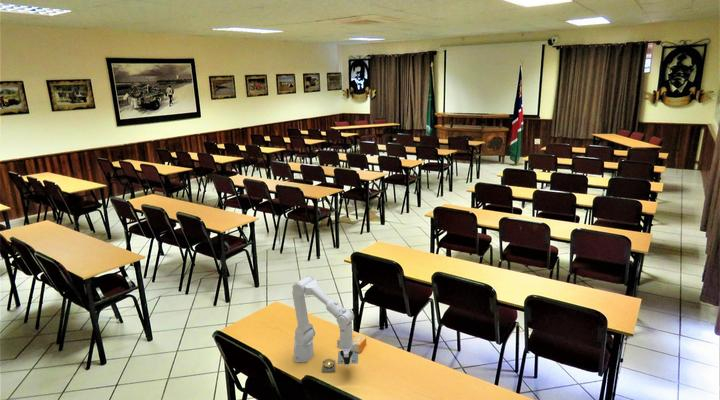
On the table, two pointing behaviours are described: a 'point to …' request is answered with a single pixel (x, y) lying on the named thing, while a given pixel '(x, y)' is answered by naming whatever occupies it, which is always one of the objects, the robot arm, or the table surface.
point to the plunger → (328, 363)
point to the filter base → (353, 358)
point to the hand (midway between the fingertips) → (347, 360)
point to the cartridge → (349, 363)
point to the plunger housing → (328, 368)
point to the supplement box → (359, 343)
